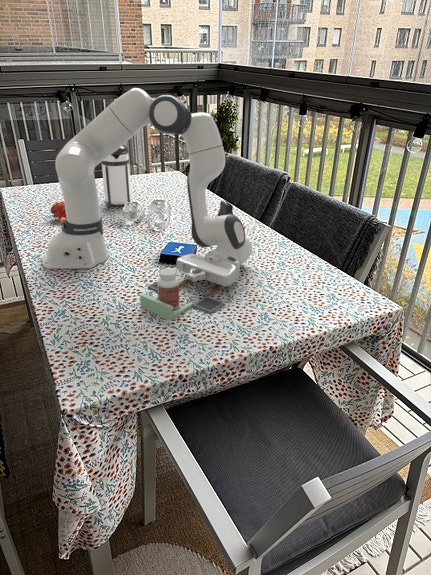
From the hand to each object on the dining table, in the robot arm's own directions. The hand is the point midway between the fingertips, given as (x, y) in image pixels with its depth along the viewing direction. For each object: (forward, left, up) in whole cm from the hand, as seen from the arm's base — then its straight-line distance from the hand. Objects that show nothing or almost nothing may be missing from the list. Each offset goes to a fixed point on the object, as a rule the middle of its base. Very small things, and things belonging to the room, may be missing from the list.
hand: (190, 278), depth 134 cm
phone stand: (+26, +48, -5) cm, 55 cm away
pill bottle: (-8, -6, -5) cm, 11 cm away
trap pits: (-1, -1, -5) cm, 5 cm away
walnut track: (+5, +4, -5) cm, 8 cm away
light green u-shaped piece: (-8, -6, -5) cm, 12 cm away
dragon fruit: (-37, +75, -5) cm, 84 cm away
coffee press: (-14, +92, -5) cm, 93 cm away
